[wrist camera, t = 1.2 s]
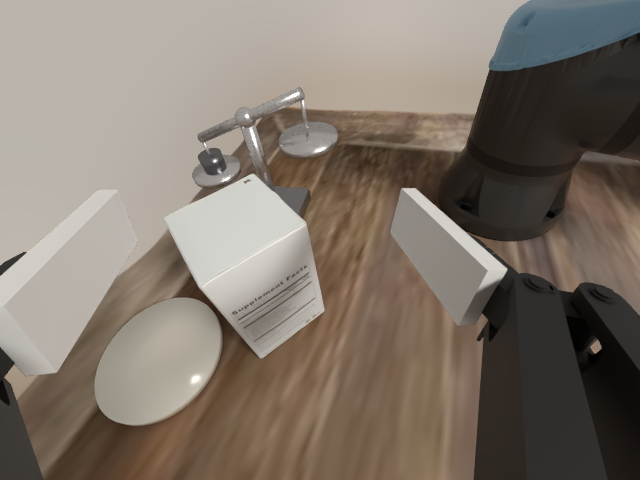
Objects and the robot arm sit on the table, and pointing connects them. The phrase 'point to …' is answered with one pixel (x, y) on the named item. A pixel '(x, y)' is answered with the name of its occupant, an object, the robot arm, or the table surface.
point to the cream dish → (158, 362)
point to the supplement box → (251, 261)
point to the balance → (293, 143)
